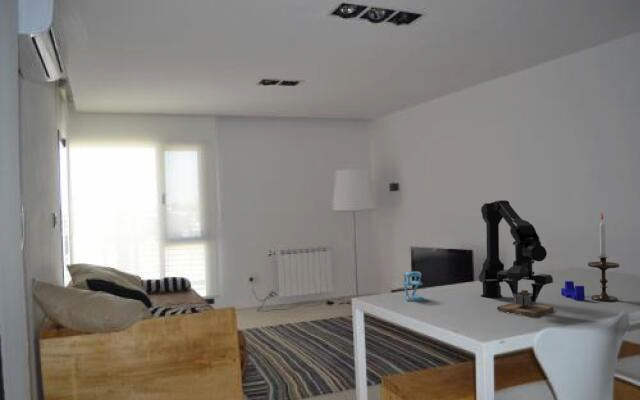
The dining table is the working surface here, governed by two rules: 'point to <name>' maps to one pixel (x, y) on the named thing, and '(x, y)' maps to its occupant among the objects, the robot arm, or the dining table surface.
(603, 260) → the candlestick
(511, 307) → the post block
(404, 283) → the chair
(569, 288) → the cable clip
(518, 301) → the ring
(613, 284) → the dining table surface
